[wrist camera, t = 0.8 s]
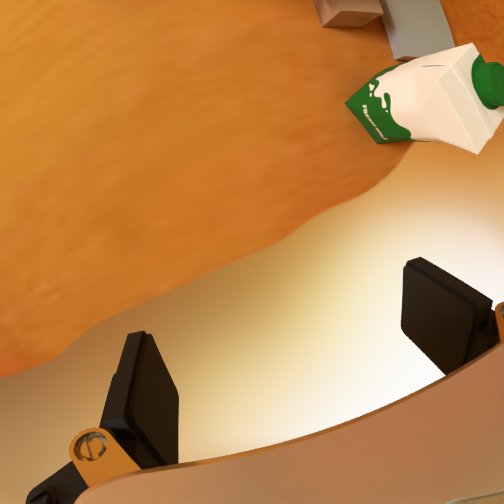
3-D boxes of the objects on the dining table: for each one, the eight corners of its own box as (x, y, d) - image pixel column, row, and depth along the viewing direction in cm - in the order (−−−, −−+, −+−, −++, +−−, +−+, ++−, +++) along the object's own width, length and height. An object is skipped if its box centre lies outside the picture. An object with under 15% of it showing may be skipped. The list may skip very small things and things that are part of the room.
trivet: (370, -11, 29) (379, -17, 26) (428, 0, 30) (437, -4, 27) (394, 59, 33) (404, 56, 31) (449, 64, 34) (459, 62, 31)
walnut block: (309, -9, 29) (326, -29, 23) (349, -8, 29) (368, -25, 23) (321, 27, 31) (341, 10, 25) (361, 27, 31) (383, 13, 25)
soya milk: (412, 115, 36) (527, 112, 17) (375, 154, 37) (494, 169, 18) (375, 65, 33) (486, 30, 14) (334, 102, 34) (445, 74, 15)
